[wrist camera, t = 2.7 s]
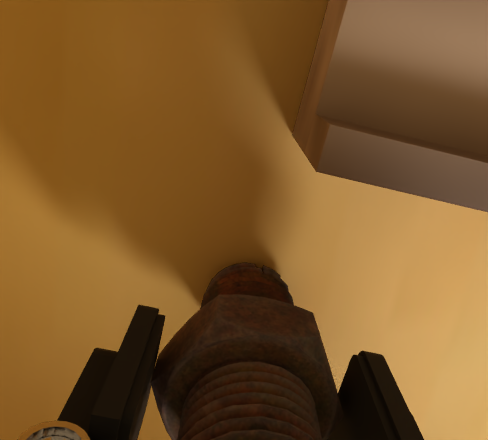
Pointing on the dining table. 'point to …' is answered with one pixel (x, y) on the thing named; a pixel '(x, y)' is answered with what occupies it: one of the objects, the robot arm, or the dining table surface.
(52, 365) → the dining table surface
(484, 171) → the brown wooden long tray
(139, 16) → the dining table surface
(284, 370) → the bolt
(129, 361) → the robot arm
